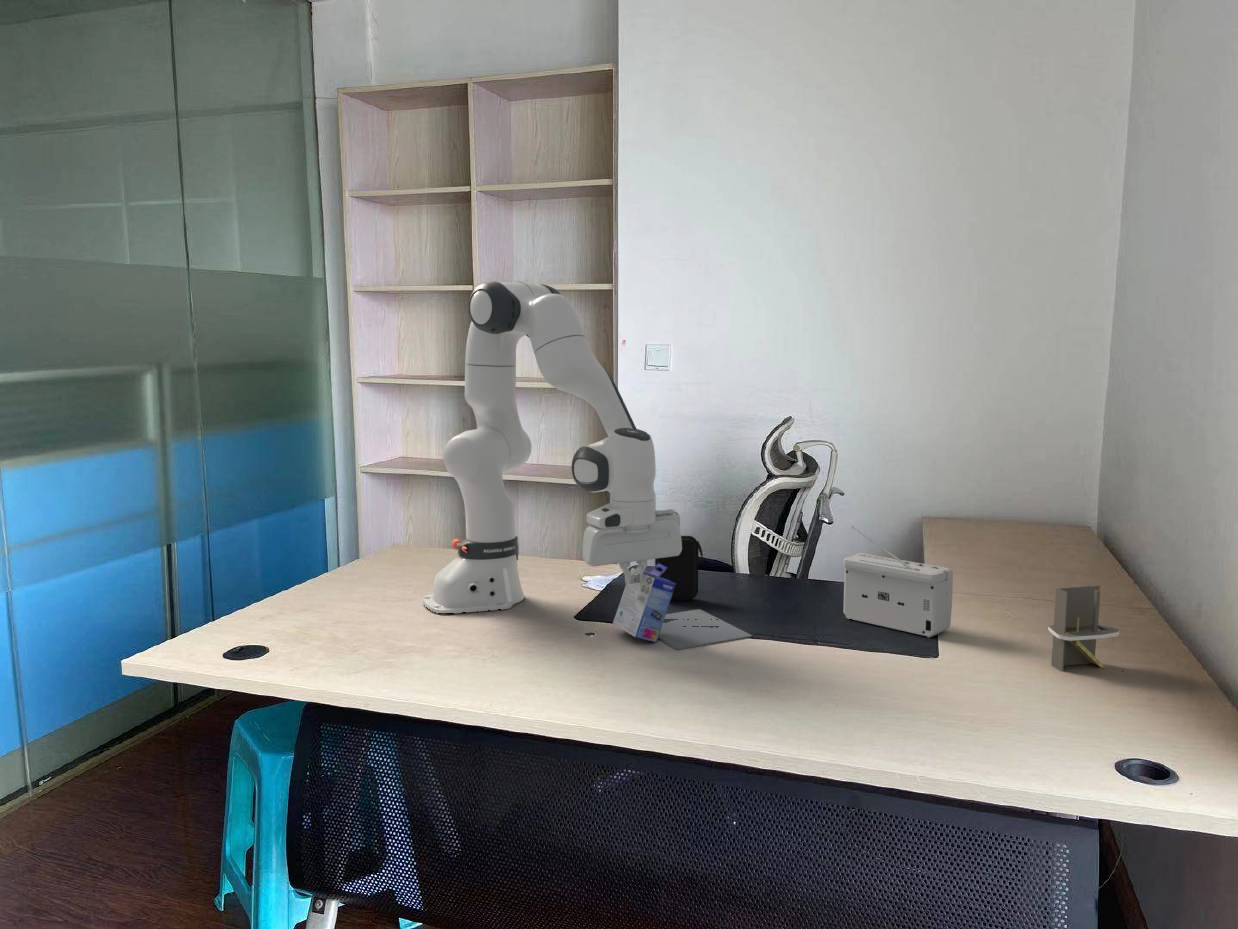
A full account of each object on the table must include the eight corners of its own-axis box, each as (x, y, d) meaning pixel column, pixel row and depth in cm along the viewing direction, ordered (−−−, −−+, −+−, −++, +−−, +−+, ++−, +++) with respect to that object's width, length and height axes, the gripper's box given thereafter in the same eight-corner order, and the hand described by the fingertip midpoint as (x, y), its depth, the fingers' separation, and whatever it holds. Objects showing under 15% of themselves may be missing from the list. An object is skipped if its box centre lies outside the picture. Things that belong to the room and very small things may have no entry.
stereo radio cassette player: (952, 631, 187) (956, 533, 184) (934, 641, 181) (938, 540, 178) (857, 611, 201) (860, 519, 198) (838, 619, 195) (840, 525, 192)
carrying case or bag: (701, 598, 212) (702, 534, 209) (703, 601, 208) (703, 537, 206) (654, 598, 211) (654, 534, 209) (655, 602, 208) (655, 537, 206)
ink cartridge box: (658, 643, 181) (681, 572, 181) (635, 638, 178) (657, 566, 178) (634, 629, 190) (655, 561, 190) (611, 624, 187) (633, 555, 187)
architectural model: (1182, 683, 160) (1189, 600, 158) (1053, 696, 155) (1059, 610, 152) (1101, 645, 179) (1106, 571, 177) (983, 656, 174) (987, 579, 172)
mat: (677, 650, 177) (677, 648, 177) (629, 621, 195) (629, 620, 194) (752, 637, 184) (752, 635, 184) (699, 610, 202) (699, 609, 202)
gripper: (672, 505, 187) (672, 572, 189) (578, 515, 179) (579, 585, 181) (687, 510, 182) (687, 580, 184) (592, 520, 173) (593, 593, 175)
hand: (633, 582), depth 182 cm, fingers closed
